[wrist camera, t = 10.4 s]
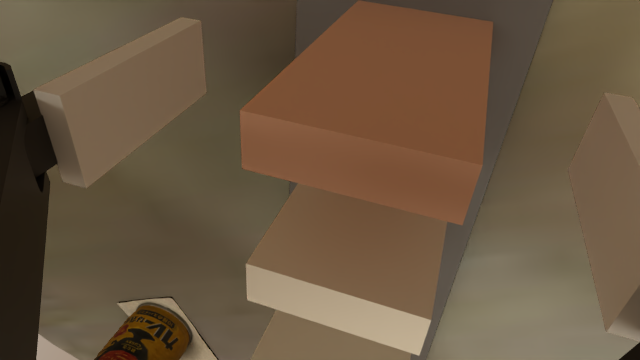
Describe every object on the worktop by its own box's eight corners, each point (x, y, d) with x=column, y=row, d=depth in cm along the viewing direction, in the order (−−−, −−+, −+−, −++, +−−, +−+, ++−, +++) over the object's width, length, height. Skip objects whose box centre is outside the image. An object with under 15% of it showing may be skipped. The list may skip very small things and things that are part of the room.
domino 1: (481, 62, 21) (462, 225, 11) (353, 39, 22) (241, 168, 13) (493, 21, 20) (482, 165, 10) (358, 0, 21) (239, 110, 12)
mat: (286, 331, 38) (283, 337, 37) (304, -86, 20) (300, -85, 20) (419, 375, 35) (417, 382, 35) (569, -54, 18) (571, -52, 17)
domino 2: (452, 163, 24) (419, 355, 15) (342, 138, 25) (247, 299, 16) (461, 133, 23) (431, 320, 14) (346, 108, 24) (245, 263, 15)
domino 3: (430, 240, 27) (391, 438, 18) (334, 214, 28) (250, 386, 19) (437, 217, 26) (399, 414, 17) (336, 191, 27) (249, 361, 18)
